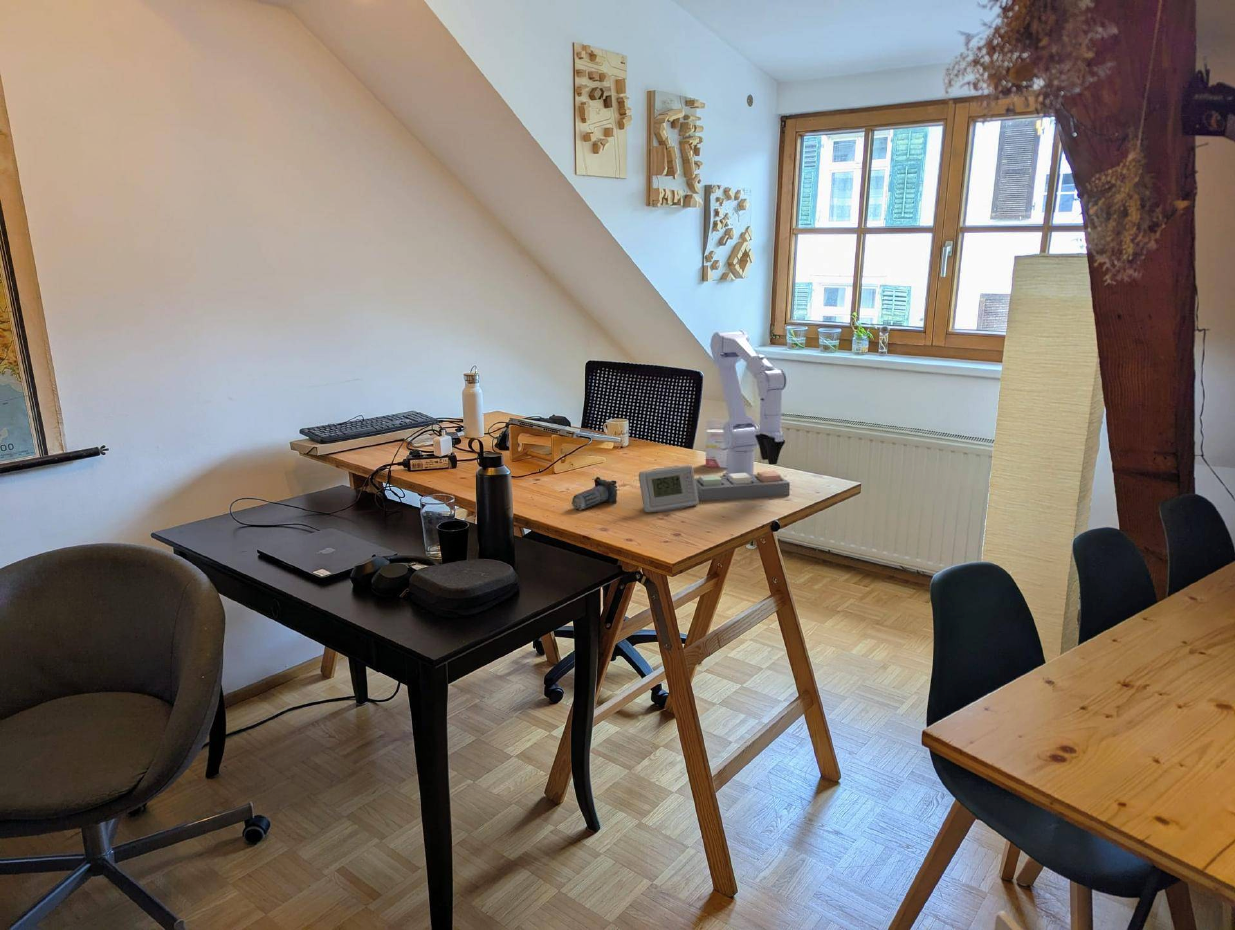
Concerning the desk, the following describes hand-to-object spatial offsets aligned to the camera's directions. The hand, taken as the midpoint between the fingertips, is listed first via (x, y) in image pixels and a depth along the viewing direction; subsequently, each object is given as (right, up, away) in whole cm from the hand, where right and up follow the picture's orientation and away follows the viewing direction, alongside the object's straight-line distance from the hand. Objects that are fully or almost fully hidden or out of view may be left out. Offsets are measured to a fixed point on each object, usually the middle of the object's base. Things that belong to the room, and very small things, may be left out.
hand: (769, 461), depth 221 cm
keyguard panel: (-8, -9, +1) cm, 12 cm away
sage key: (-17, -6, -1) cm, 18 cm away
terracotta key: (0, -5, +1) cm, 5 cm away
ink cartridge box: (-10, -1, +31) cm, 33 cm away
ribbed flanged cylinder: (-49, -12, -8) cm, 51 cm away
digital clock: (-29, -13, -12) cm, 33 cm away
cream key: (-8, -6, 0) cm, 10 cm away
